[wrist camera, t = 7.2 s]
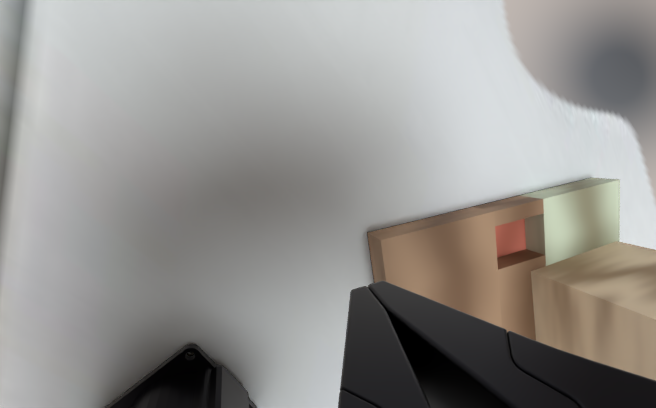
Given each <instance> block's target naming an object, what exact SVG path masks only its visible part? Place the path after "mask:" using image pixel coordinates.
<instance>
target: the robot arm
mask: <svg viewBox="0 0 656 408" xmlns="http://www.w3.org/2000/svg"><path fill="white" fill-rule="evenodd" d="M188 352H193V353H194V355H193V356H188V355H187V353H188ZM105 408H257V407H256V406H255V405H254V404H253V403H252V402H251V401H250V400H249V399H248V392H247V391H246V390H245V389H244V387H243V386H242V385H241V384H240V383H239V382H238V381H237V380H236V379H235V378H234V377H233V376H232V375H231V374H230V373H229V372H228V371H227V370H226V369H225V368H224V366H221V365H216V364H215V363H214V362H213V361H212V360H211V359H210V358H209V357H208V356H207V355H206V354H205V353H204V352H203V351H202V350H201V349H200V348H199V347H198V346H197V345H195V344H188V345H187V346H185V347H183V348H182V349H181V350H180V351H178V352H177V353H176V354H174V355H173V356H172V357H170V358H169V359H168V360H167V361H165V362H164V363H163V364H161V365H160V366H159V367H157V368H156V369H155V370H154V371H152V372H151V373H150V374H148V375H147V376H146V377H144V378H143V379H142V380H141V381H139V382H138V383H137V384H135V385H134V386H133V387H131V388H130V389H129V390H128V391H126V392H125V393H124V394H122V395H121V396H120V397H118V398H117V399H116V400H115V401H113V402H112V403H111V404H109V405H108V406H107V407H105ZM338 408H656V380H652V379H649V378H646V377H643V376H640V375H637V374H633V373H630V372H627V371H624V370H621V369H618V368H614V367H611V366H608V365H605V364H602V363H599V362H595V361H592V360H589V359H586V358H583V357H580V356H577V355H574V354H571V353H568V352H565V351H562V350H559V349H557V348H554V347H551V346H549V345H546V344H543V343H541V342H538V341H535V340H533V339H530V338H527V337H525V336H522V335H520V334H517V333H515V332H512V331H508V333H507V330H506V329H504V328H502V327H499V326H497V325H494V324H492V323H489V322H487V321H484V320H482V319H479V318H477V317H474V316H472V315H469V314H466V313H464V312H461V311H459V310H456V309H454V308H451V307H449V306H446V305H444V304H441V303H439V302H436V301H434V300H431V299H429V298H426V297H424V296H421V295H419V294H416V293H414V292H411V291H409V290H406V289H404V288H401V287H399V286H396V285H393V284H391V283H388V282H386V281H379V282H376V283H372V284H370V285H368V287H367V286H363V287H360V288H357V289H353V290H352V291H351V293H350V302H349V312H348V321H347V330H346V340H345V349H344V359H343V368H342V378H341V387H340V394H339V404H338Z"/></svg>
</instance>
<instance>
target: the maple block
mask: <svg viewBox="0 0 656 408" xmlns="http://www.w3.org/2000/svg"><path fill="white" fill-rule="evenodd" d="M531 280H532V293H533V306H534V319H535V333H536V341H538V342H541V343H543V344H546V345H549V346H551V347H554V348H557V349H559V350H562V351H565V352H568V353H571V354H574V355H577V356H580V357H583V358H586V359H589V360H592V361H595V362H599V363H602V364H605V365H608V366H611V367H614V368H618V369H621V370H624V371H627V372H630V373H633V374H637V375H640V376H643V377H646V378H649V379H652V380H656V250H653V249H649V248H644V247H640V246H635V245H631V244H627V243H622V242H618V241H615V242H613V243H610V244H607V245H604V246H601V247H598V248H596V249H593V250H590V251H587V252H584V253H582V254H579V255H576V256H573V257H570V258H567V259H565V260H562V261H559V262H556V263H553V264H551V265H548V266H545V267H542V268H539V269H536V270H534V271H531Z"/></svg>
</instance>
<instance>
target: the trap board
mask: <svg viewBox="0 0 656 408" xmlns="http://www.w3.org/2000/svg"><path fill="white" fill-rule="evenodd" d="M619 211H620V180H618V179H602V178H589V179H584V180H580V181H576V182H572V183H568V184H564V185H560V186H556V187H552V188H548V189H544V190H540V191H535V192H531V193H527V194H523V195H519V196H515V197H511V198H507V199H503V200H499V201H495V202H490V203H486V204H482V205H478V206H474V207H470V208H466V209H462V210H458V211H454V212H450V213H446V214H441V215H437V216H433V217H429V218H425V219H421V220H417V221H413V222H409V223H405V224H401V225H397V226H392V227H388V228H384V229H380V230H376V231H372V232H368V233H367V235H368V242H369V249H370V256H371V263H372V270H373V277H374V283H376V282H379V281H386V282H388V283H391V284H393V285H396V286H399V287H401V288H404V289H406V290H409V291H411V292H414V293H416V294H419V295H421V296H424V297H426V298H429V299H431V300H434V301H436V302H439V303H441V304H444V305H446V306H449V307H451V308H454V309H456V310H459V311H461V312H464V313H466V314H469V315H472V316H474V317H477V318H479V319H482V320H484V321H487V322H489V323H492V324H494V325H497V326H499V327H502V328H504V329H506V330H507V333H508V331H512V332H515V333H517V334H520V335H522V336H525V337H527V338H530V339H533V340H535V341H536V333H535V319H534V306H533V293H532V280H531V271H534V270H536V269H539V268H542V267H545V266H548V265H551V264H553V263H556V262H559V261H562V260H565V259H567V258H570V257H573V256H576V255H579V254H582V253H584V252H587V251H590V250H593V249H596V248H598V247H601V246H604V245H607V244H610V243H613V242H615V241H618V242H619Z"/></svg>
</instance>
